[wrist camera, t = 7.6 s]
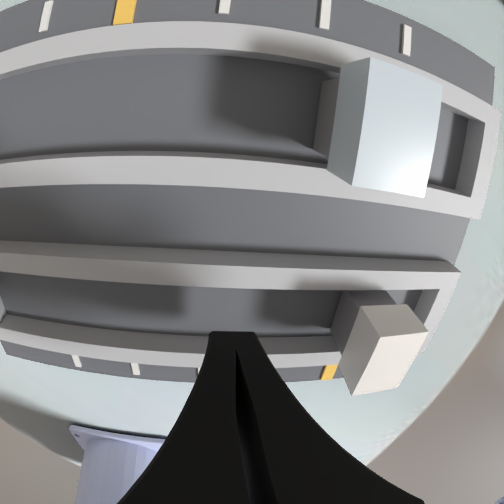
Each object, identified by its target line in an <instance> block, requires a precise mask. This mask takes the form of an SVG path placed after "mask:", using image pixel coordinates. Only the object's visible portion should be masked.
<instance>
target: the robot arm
mask: <svg viewBox="0 0 504 504" xmlns="http://www.w3.org/2000/svg"><path fill="white" fill-rule="evenodd" d="M69 431H70V432H71V434H72V435H73V437H74V438H75V440H76V441H77V442H78V444H79V445H80V447H81V448H82V449H83V451H84V456H83V461H82V465H81V470H80V476H79V481H78V486H77V492H76V499H75V504H425V503H424V501H423V500H421V499H419V498H417V497H415V496H413V495H411V494H409V493H407V492H405V491H404V490H402V489H400V488H398V487H397V486H395V485H393V484H391V483H390V482H388V481H387V480H385V479H383V478H382V477H380V476H379V475H377V474H376V473H374V472H373V471H371V470H370V469H369V468H367V467H366V466H365V465H364V464H362V463H361V462H360V461H358V460H357V459H356V458H355V457H353V456H352V455H351V454H350V453H348V452H347V451H346V450H345V449H343V448H342V447H341V446H340V445H339V444H338V443H337V442H336V441H335V440H334V439H333V438H331V437H330V436H329V435H328V434H327V433H326V432H325V431H324V430H323V429H322V428H321V427H320V425H319V424H318V423H317V422H316V421H315V420H314V419H313V418H312V417H311V416H310V414H309V413H308V412H307V411H306V410H305V409H304V407H303V406H302V405H301V404H300V402H299V401H298V400H297V399H296V397H295V396H294V395H293V393H292V392H291V391H290V389H289V388H288V387H287V385H286V384H285V382H284V381H283V379H282V378H281V376H280V375H279V373H278V372H277V370H276V369H275V367H274V366H273V364H272V362H271V361H270V359H269V357H268V356H267V354H266V352H265V350H264V348H263V347H262V345H261V343H260V341H259V339H258V337H257V334H255V333H254V332H245V331H212V332H210V333H209V338H208V344H207V349H206V353H205V356H204V359H203V363H202V366H201V368H200V371H199V373H198V376H197V379H196V381H195V384H194V386H193V389H192V391H191V393H190V395H189V397H188V399H187V401H186V403H185V405H184V408H183V410H182V412H181V413H180V415H179V417H178V419H177V421H176V423H175V425H174V426H173V428H172V430H171V431H170V433H169V435H168V436H167V438H166V439H157V438H147V437H139V436H131V435H124V434H117V433H111V432H105V431H100V430H95V429H90V428H85V427H80V426H76V425H70V427H69ZM493 504H504V497H502V498H500V499H499V500H497V501H496V502H494V503H493Z"/></svg>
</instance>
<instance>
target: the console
mask: <svg viewBox="0 0 504 504" xmlns="http://www.w3.org/2000/svg"><path fill="white" fill-rule="evenodd" d="M369 57H372V58H375V59H378V60H381V61H384V62H387V63H390V64H393V65H395V66H398V67H401V68H403V69H406V70H409V71H411V72H414V73H416V74H418V75H421V76H423V77H426V78H428V79H430V80H432V81H435V82H437V83H439V84H441V85H443V91H442V101H441V109H440V116H439V123H438V130H437V136H436V142H435V148H434V153H433V158H432V163H431V168H430V173H429V178H428V182H427V186H426V191H425V195H424V198H421V197H416V196H411V195H405V194H400V193H394V192H388V191H382V190H376V189H369V188H363V187H356V186H351V185H350V184H348V183H347V182H345V181H343V180H342V179H340V178H339V177H337V176H335V175H334V174H332V173H331V172H329V171H327V165H328V158H329V157H326V156H324V155H322V154H320V153H318V152H316V151H314V150H313V144H314V137H315V130H316V123H317V115H318V108H319V100H320V92H321V83H322V81H326V80H330V79H335V78H340V70H341V65H343V64H346V63H350V62H353V61H357V60H361V59H365V58H369ZM494 68H495V67H493V66H492V65H490V64H489V63H487V62H486V61H485V60H483V59H482V58H480V57H479V56H477V55H475V54H474V53H472V52H471V51H469V50H468V49H466V48H464V47H463V46H461V45H459V44H458V43H456V42H454V41H452V40H451V39H449V38H447V37H445V36H443V35H442V34H440V33H438V32H436V31H434V30H432V29H430V28H428V27H426V26H424V25H422V24H420V23H418V22H416V21H414V20H411V19H409V18H407V17H405V16H402V15H400V14H398V13H395V12H393V11H390V10H388V9H385V8H383V7H380V6H378V5H375V4H372V3H369V2H367V1H364V0H28V1H26V2H23V3H20V4H18V5H15V6H13V7H10V8H8V9H6V10H3V11H1V12H0V341H1V343H2V346H3V348H4V350H5V352H6V354H8V355H11V356H15V357H19V358H23V359H27V360H31V361H35V362H40V363H44V364H49V365H54V366H59V367H64V368H69V369H75V370H80V371H86V372H93V373H99V374H106V375H114V376H122V377H130V378H139V379H150V380H162V381H176V382H195V381H196V379H197V376H198V373H199V371H200V368H201V366H202V363H203V359H204V356H205V353H206V349H207V344H208V338H209V333H210V332H212V331H245V332H254V333H255V334H257V337H258V339H259V341H260V343H261V345H262V347H263V348H264V350H265V352H266V354H267V356H268V357H269V359H270V361H271V362H272V364H273V366H274V367H275V369H276V370H277V372H278V373H279V375H280V376H281V378H282V379H283V381H284V382H297V381H311V380H330V379H334V378H343V377H344V376H343V374H342V372H341V369H340V367H339V365H338V364H339V361H340V359H341V357H342V356H341V353H340V351H339V349H338V347H337V345H336V342H335V340H334V338H333V336H332V334H331V331H330V329H331V326H332V323H333V319H334V316H335V313H336V310H337V307H338V303H339V300H340V297H341V293H342V290H386V291H387V292H388V294H389V295H390V296H391V297H392V299H393V300H394V301H395V303H396V304H397V305H399V304H407V305H408V306H409V307H410V308H411V310H412V311H413V312H414V313H415V315H416V316H417V317H418V318H419V320H420V321H421V322H422V324H423V325H424V326H425V327H426V329H427V330H428V331H429V333H428V334H427V336H426V338H425V340H424V342H423V344H422V346H421V348H420V350H419V351H418V353H417V354H421V353H423V352H424V350H425V349H426V347H427V345H428V343H429V341H430V339H431V337H432V335H433V334H434V332H435V330H436V328H437V326H438V324H439V322H440V320H441V318H442V315H443V313H444V311H445V309H446V307H447V305H448V303H449V300H450V298H451V296H452V294H453V291H454V289H455V287H456V284H457V282H458V280H459V277H460V275H461V272H460V271H459V270H458V269H457V268H456V267H455V266H454V264H455V261H456V259H457V256H458V253H459V250H460V248H461V245H462V242H463V239H464V236H465V233H466V229H467V226H468V223H469V220H470V218H472V219H477V220H480V217H481V214H482V210H483V207H484V203H485V199H486V195H487V191H488V187H489V183H490V179H491V174H492V169H493V165H494V159H495V154H496V148H497V142H498V136H499V129H500V121H501V111H499V110H498V109H496V108H494V107H493V106H492V102H493V89H494Z"/></svg>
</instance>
